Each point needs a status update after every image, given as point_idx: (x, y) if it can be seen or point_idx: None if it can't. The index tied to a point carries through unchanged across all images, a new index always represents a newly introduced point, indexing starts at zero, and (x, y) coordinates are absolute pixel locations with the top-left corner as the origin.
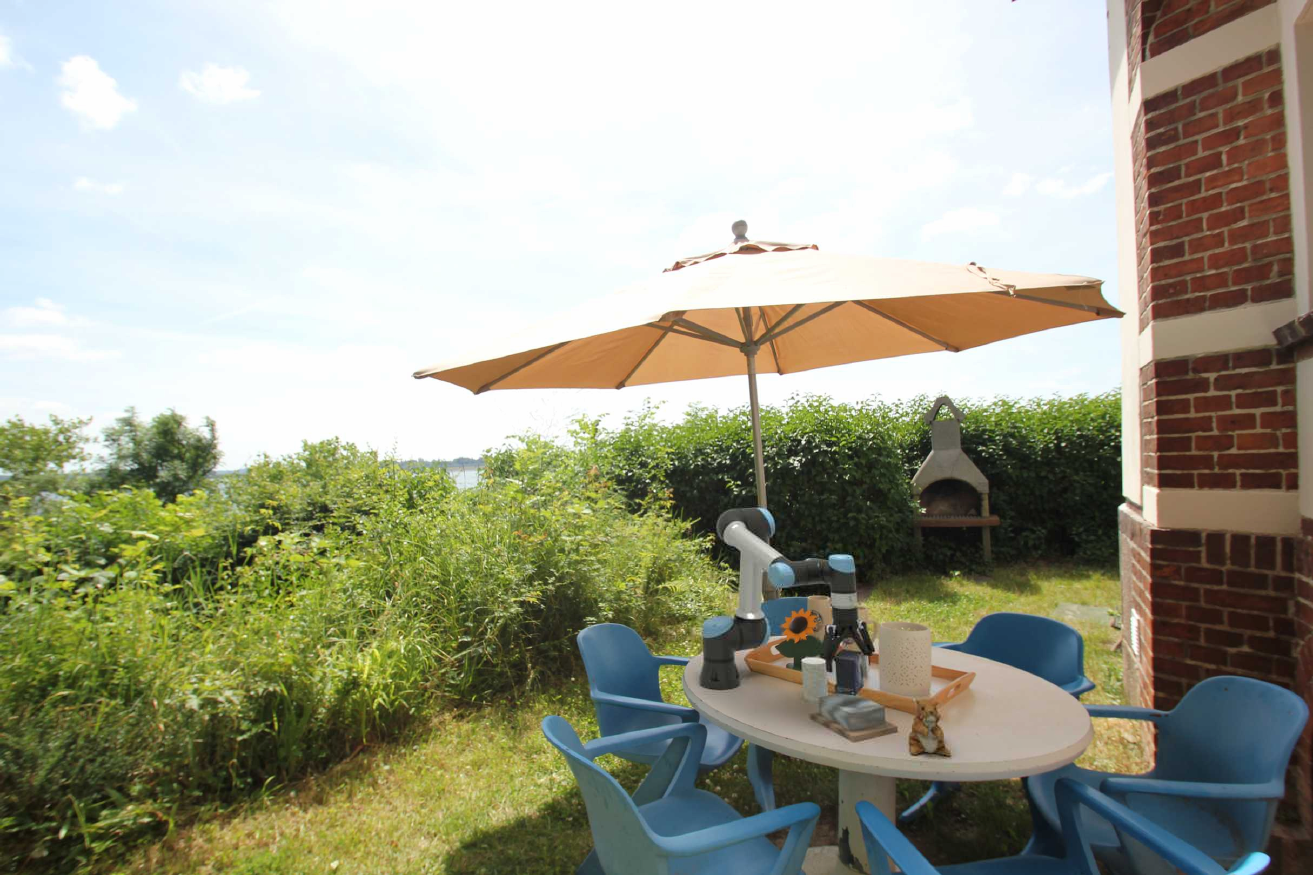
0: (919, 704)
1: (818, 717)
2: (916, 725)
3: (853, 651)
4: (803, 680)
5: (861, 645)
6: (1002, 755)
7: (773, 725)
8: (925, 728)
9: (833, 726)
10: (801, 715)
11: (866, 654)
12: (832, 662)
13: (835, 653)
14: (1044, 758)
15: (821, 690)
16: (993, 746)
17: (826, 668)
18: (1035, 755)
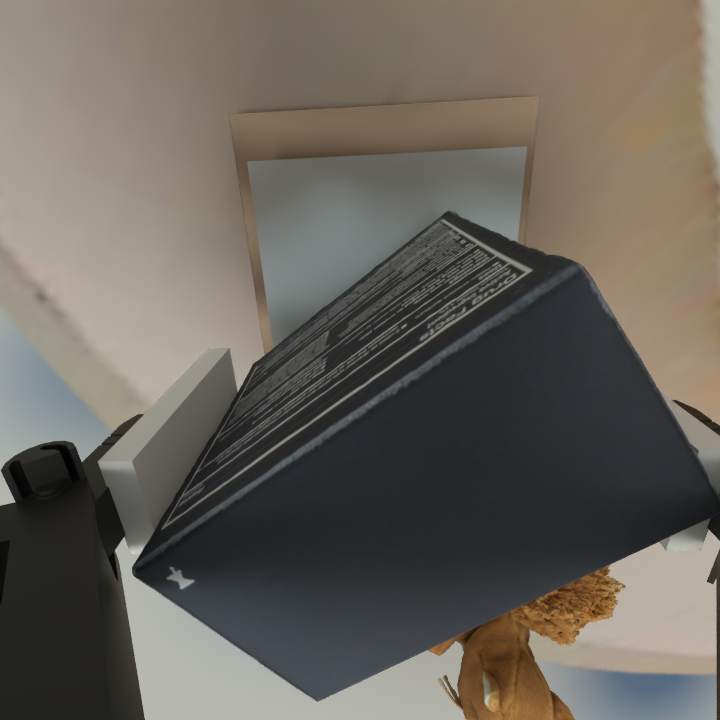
0: (478, 706)
1: (244, 205)
2: None
3: (606, 482)
4: None
5: (717, 716)
6: (613, 628)
7: (12, 137)
8: (436, 654)
9: (261, 323)
10: (209, 66)
11: (718, 535)
12: (133, 535)
13: (127, 642)
14: (684, 666)
15: None
16: (655, 593)
17: (116, 437)
18: (685, 653)
